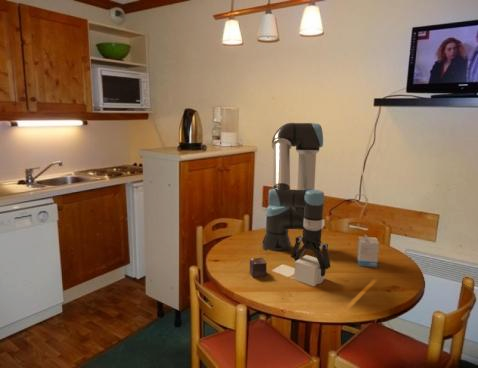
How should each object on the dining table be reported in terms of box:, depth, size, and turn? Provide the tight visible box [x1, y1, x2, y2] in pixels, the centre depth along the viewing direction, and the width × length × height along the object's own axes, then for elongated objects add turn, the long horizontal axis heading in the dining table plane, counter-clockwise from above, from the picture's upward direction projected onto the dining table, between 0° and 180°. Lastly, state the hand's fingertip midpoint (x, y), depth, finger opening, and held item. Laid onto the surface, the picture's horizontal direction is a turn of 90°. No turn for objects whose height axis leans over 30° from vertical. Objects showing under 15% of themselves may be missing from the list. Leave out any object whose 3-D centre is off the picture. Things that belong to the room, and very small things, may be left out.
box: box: [249, 257, 267, 279], centre depth 149 cm, size 6×6×7 cm
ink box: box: [356, 233, 380, 268], centre depth 163 cm, size 9×8×13 cm
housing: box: [293, 254, 326, 287], centre depth 145 cm, size 9×9×8 cm
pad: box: [271, 264, 295, 278], centre depth 153 cm, size 9×9×1 cm
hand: (308, 278), depth 146 cm, fingers open, 10 cm apart
